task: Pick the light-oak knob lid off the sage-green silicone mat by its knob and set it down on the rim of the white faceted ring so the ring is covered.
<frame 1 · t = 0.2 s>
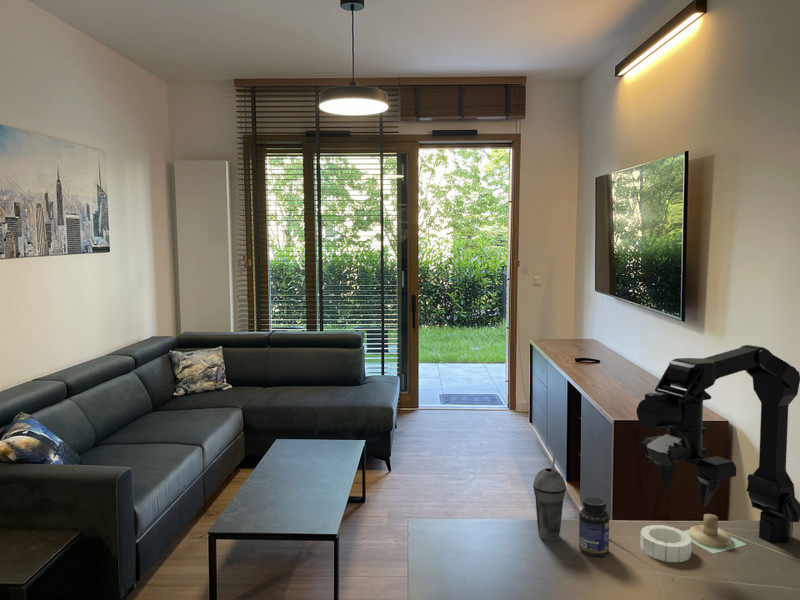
hand: (685, 497, 120), 14 cm above the countertop, fingers open, 9 cm apart
pill bottle: (593, 551, 127), on the countertop
white faceted ring: (665, 553, 126), on the countertop
lid: (710, 538, 130), point 1 cm above the countertop, touching mat
mat: (710, 542, 131), on the countertop
beverage cup: (548, 537, 134), on the countertop
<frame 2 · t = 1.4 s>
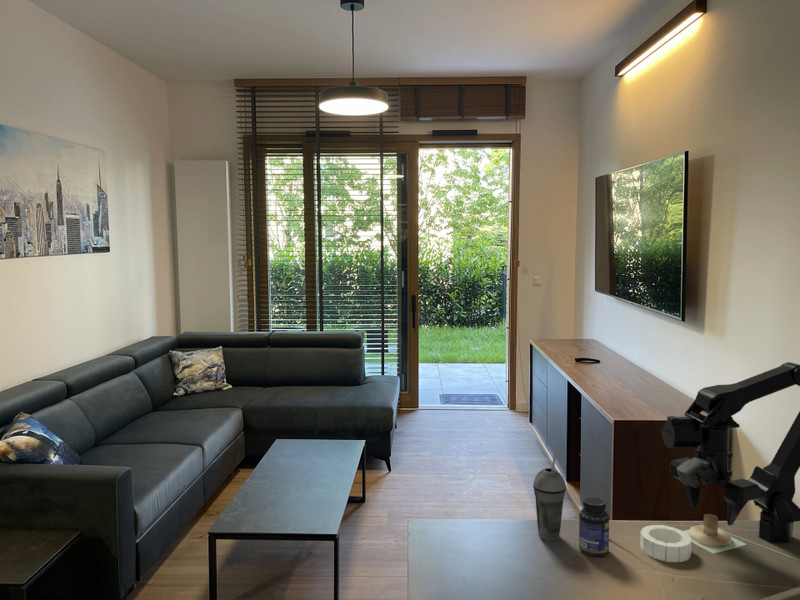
hand: (711, 516, 130), 6 cm above the countertop, fingers open, 9 cm apart
nothing on the countertop moved.
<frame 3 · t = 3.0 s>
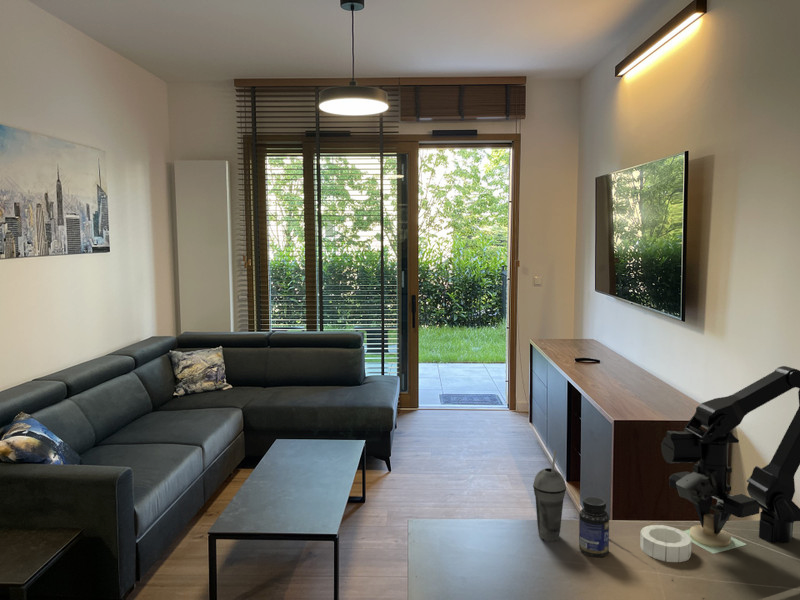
hand: (710, 530, 130), 3 cm above the countertop, fingers closed on lid, 3 cm apart
lid: (710, 538, 130), point 1 cm above the countertop, touching gripper, mat
everything else where it was.
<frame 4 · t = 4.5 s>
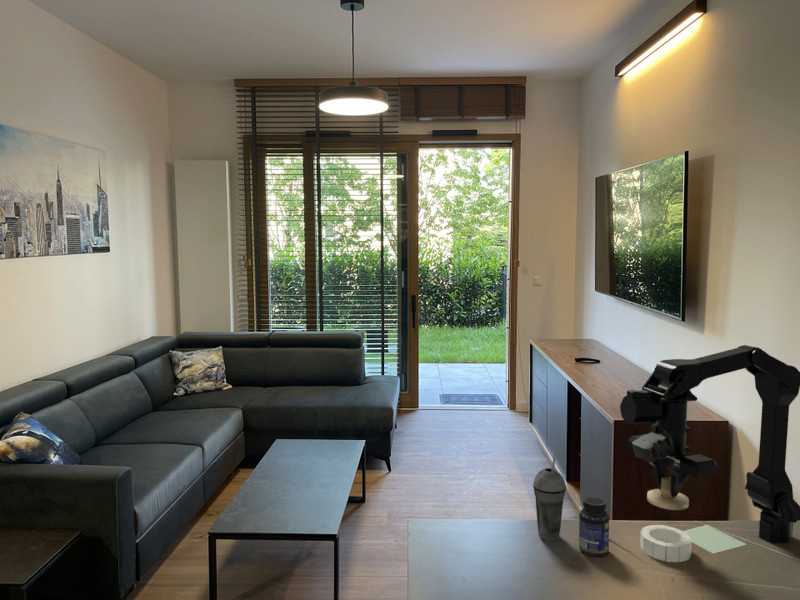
hand: (668, 493, 125), 13 cm above the countertop, fingers closed on lid, 3 cm apart
lid: (667, 501, 125), point 11 cm above the countertop, touching gripper
everything else where it was.
when the fingers open (7 cm above the countertop, at t = 6.2 s): lid drops 1 cm, resting on white faceted ring.
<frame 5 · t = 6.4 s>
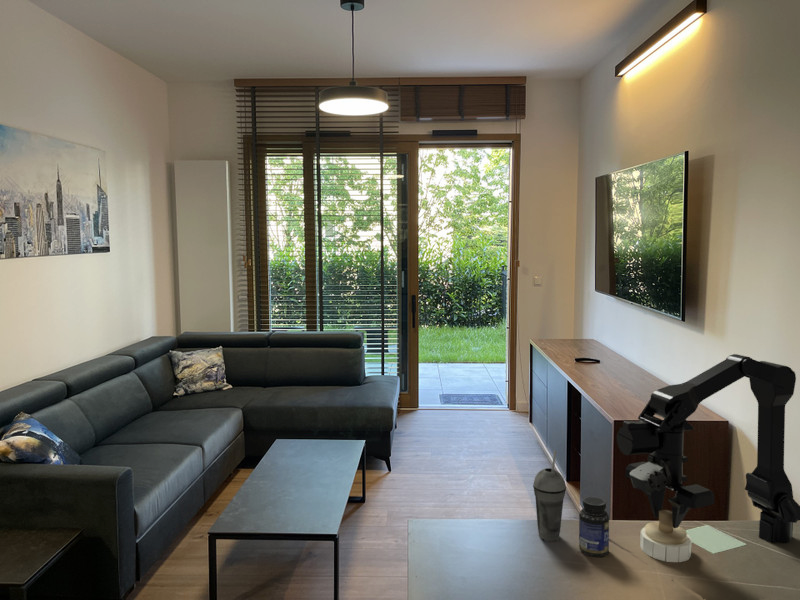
hand: (666, 522, 125), 7 cm above the countertop, fingers open, 5 cm apart
lid: (665, 535, 125), point 4 cm above the countertop, touching white faceted ring
everything else where it was.
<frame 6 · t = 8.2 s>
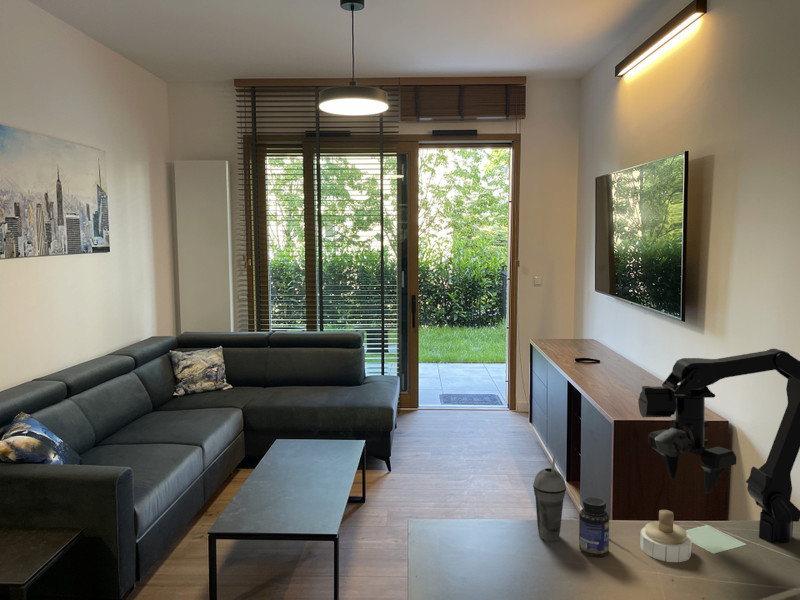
hand: (689, 485, 132), 12 cm above the countertop, fingers open, 9 cm apart
nothing on the countertop moved.
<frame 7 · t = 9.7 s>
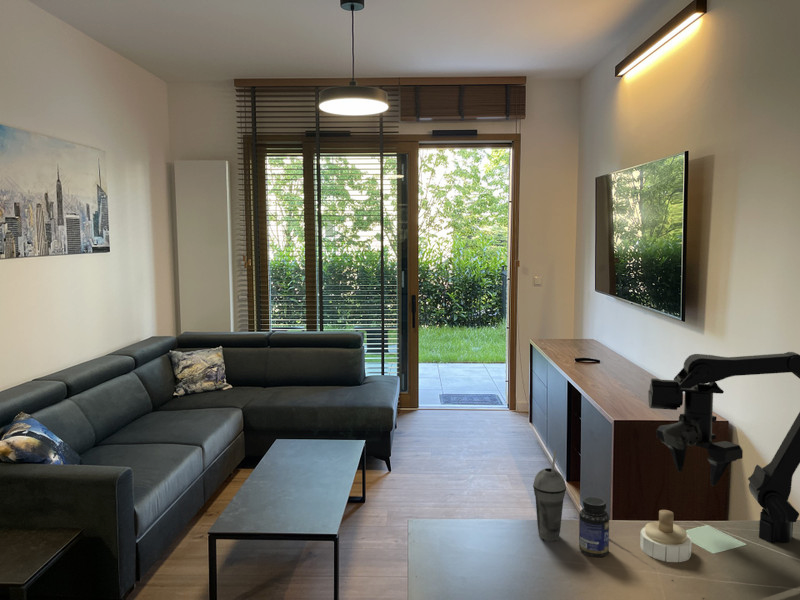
hand: (696, 478, 135), 13 cm above the countertop, fingers open, 9 cm apart
nothing on the countertop moved.
at the end: lid 0.0 cm off-centre on the white faceted ring, point 4.0 cm above the white faceted ring's base; lid tilted 0°; the gripper is holding nothing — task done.
